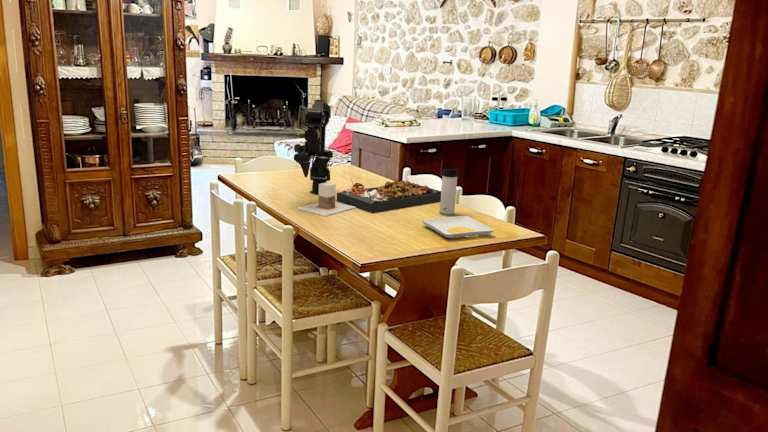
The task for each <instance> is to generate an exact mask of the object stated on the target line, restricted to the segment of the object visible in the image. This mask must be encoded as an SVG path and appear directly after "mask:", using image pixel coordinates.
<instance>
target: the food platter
mask: <svg viewBox="0 0 768 432" xmlns="http://www.w3.org/2000/svg"><path fill="white" fill-rule="evenodd" d="M350 182H351V183H352V185H350V187H349V188H347V190H342V191H341V192H336V202H338V203H342V204H346V205H350V206H354V207H356V208H355V209H358V210H361V211H365V212H367V213H370V214H376V213H383V212H387V211H394V209H395V210H400V208H401V209H404V208H405V209H406V207H407V208H411V207H417V205H418V206H424V205H429V203H430V204H433V203H434V204H435V202H436V203H440V201H441V190H438V189H434V188H430V187H429V186H428V185H427V184H425V185H421V184H418V183H415V182H411V181H409V180H406V181H405V180H400V181H398V180H393V181H386V182H385V184H384V185H383V186H382V185H381V186H375V187H369V188H366V187H365V186H366V185H363V183H360V182H355V183H353V181H352V179H350ZM423 204H424V205H423Z"/></svg>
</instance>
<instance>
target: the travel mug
mask: <svg viewBox="0 0 768 432" xmlns="http://www.w3.org/2000/svg"><path fill="white" fill-rule="evenodd" d="M458 171H459V170H458V169H457V168H447V169H445V168H444V169H442V179H441V190H440V191H441V201H440V202H439V205H440V206H439V214H440V215H441V214H442V215H441V216H444V215H453V216H454V215H455V207H456V198H457V197H456V196H457V184H458Z"/></svg>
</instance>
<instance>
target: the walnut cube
mask: <svg viewBox="0 0 768 432" xmlns="http://www.w3.org/2000/svg"><path fill="white" fill-rule="evenodd" d="M335 202H336V195H335V196H332V197H328V198H327V197H323V196H319V195H318V202H317V203H318V207H320V208H324V209H330V208H334V207H335Z"/></svg>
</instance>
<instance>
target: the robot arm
mask: <svg viewBox="0 0 768 432" xmlns="http://www.w3.org/2000/svg"><path fill="white" fill-rule="evenodd" d="M331 118H332V108H331V106H330V104H328V103H327V100H324V99H314V101H313V104H312V106H311V107H309V108H307V109H306V111H305V112H304V119H303V120H304V121H303V127H306V128H307V129H306V130H305V131H304V133H303V138H304V140H305V141H304V144H303V145H301V143H300V144H299V143H296V144H294V147H293V149H294V152H295V154H293V161H295V162H296V163H298V164H299V165H300V167H301V169H302V174H303V177H304V178H308V176H309V175H310V179H309V180H310V181H312V184H311V185H312V187H311V188H312V189H311V190H310V191H309V192H310V193H313V194H316V195H319V184H321V183H326V182H329V181H331V171H330V169H329V164H328V163H329V162H330V161H331V160H332V158H333V157H334V153H333V151H332V150H328V149H326V130H327V129H326V127H327V126H328V124H329V123H330V119H331ZM311 159H314V160H313V161H312V164H311Z"/></svg>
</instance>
